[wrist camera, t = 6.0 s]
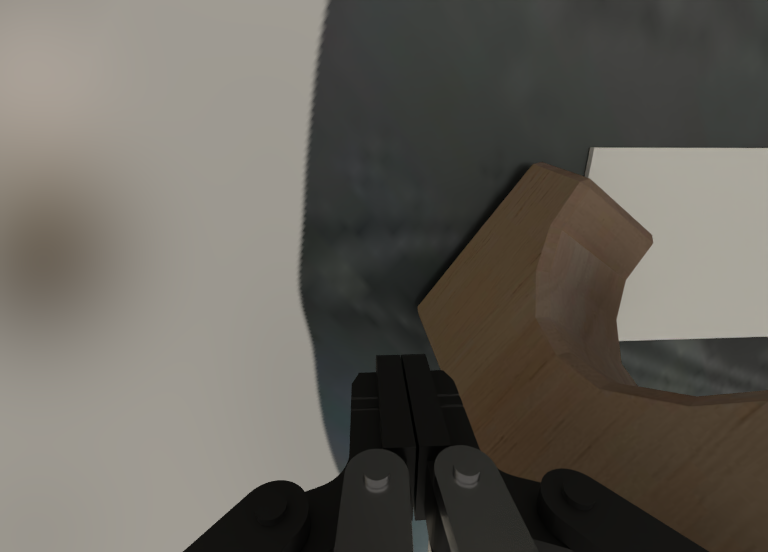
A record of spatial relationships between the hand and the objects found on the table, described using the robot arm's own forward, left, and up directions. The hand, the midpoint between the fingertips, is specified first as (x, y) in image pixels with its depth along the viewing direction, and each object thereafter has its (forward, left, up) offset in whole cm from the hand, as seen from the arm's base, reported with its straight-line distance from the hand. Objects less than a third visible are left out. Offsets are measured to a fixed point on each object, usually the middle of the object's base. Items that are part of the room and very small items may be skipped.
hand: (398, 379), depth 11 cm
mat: (-22, 0, -12) cm, 25 cm away
